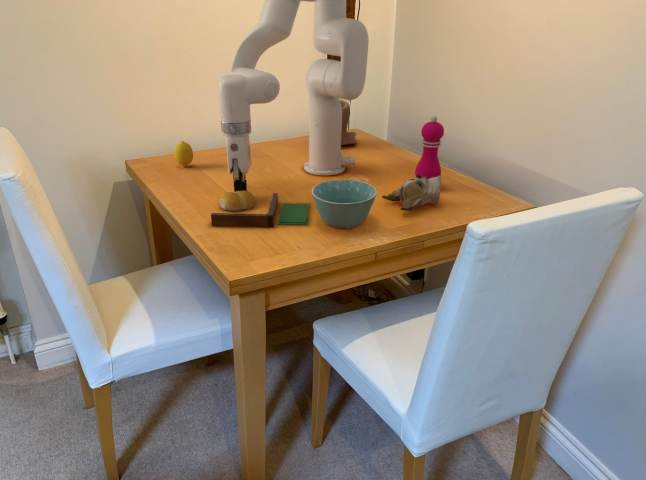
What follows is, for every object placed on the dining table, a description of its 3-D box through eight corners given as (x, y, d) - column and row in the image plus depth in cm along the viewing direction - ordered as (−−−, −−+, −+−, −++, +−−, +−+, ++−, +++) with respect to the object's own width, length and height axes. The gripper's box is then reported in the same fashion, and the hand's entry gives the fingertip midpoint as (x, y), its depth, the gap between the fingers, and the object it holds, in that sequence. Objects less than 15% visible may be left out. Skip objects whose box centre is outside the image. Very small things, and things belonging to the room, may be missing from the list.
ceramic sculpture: (453, 176, 147) (403, 188, 142) (451, 207, 151) (401, 220, 147) (429, 164, 155) (380, 174, 151) (427, 194, 160) (380, 205, 155)
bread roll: (259, 208, 152) (259, 193, 150) (227, 214, 148) (226, 199, 146) (247, 197, 158) (246, 183, 156) (215, 203, 154) (214, 189, 152)
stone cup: (319, 151, 193) (320, 105, 185) (311, 141, 203) (312, 97, 195) (363, 149, 196) (365, 103, 188) (353, 139, 206) (355, 95, 198)
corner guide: (278, 203, 154) (277, 192, 153) (273, 227, 141) (272, 215, 140) (221, 202, 155) (221, 191, 153) (211, 226, 142) (210, 213, 140)
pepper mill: (441, 185, 166) (451, 114, 156) (435, 193, 161) (444, 120, 151) (417, 181, 169) (424, 111, 159) (410, 189, 163) (417, 117, 153)
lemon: (192, 169, 177) (189, 144, 173) (174, 169, 177) (171, 143, 173) (195, 164, 182) (193, 138, 178) (178, 163, 182) (175, 138, 178)
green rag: (308, 204, 154) (308, 202, 153) (306, 225, 142) (306, 223, 142) (282, 204, 154) (282, 202, 154) (278, 224, 143) (278, 222, 142)
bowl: (328, 239, 135) (329, 206, 131) (301, 215, 148) (301, 184, 144) (386, 228, 141) (389, 196, 137) (356, 205, 153) (357, 175, 149)
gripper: (246, 135, 141) (250, 205, 151) (254, 119, 154) (258, 184, 164) (216, 135, 142) (222, 205, 151) (226, 118, 154) (231, 184, 164)
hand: (240, 194), depth 157 cm, fingers closed
